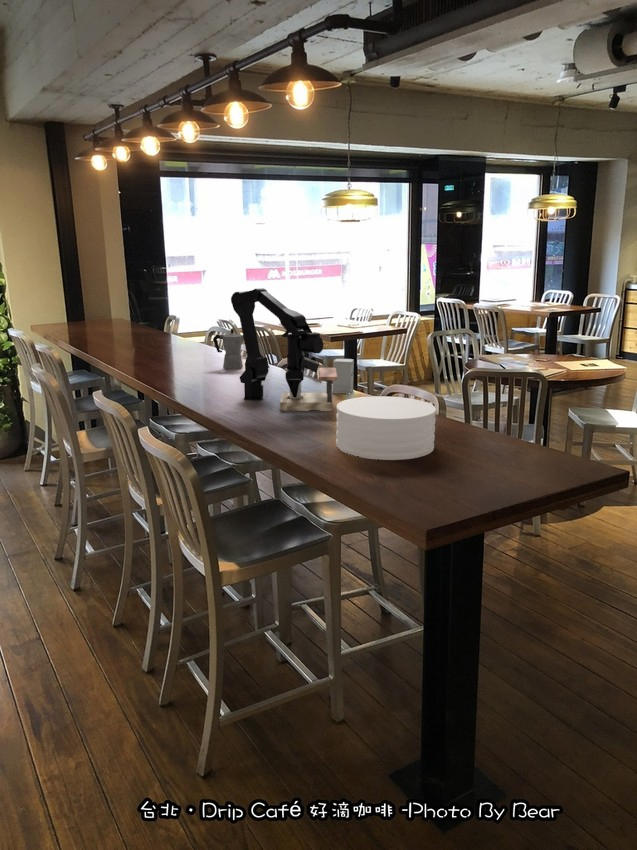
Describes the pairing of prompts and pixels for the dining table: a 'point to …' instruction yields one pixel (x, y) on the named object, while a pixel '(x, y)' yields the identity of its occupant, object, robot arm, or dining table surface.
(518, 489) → the dining table surface
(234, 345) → the coffeepot
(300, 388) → the peg
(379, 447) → the plate stack
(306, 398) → the socket block
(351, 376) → the supplement box
